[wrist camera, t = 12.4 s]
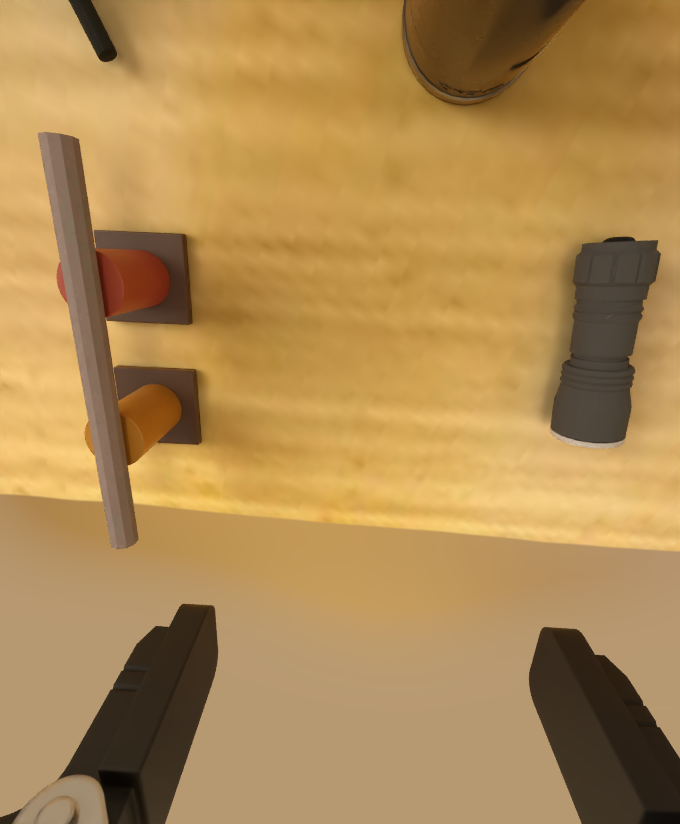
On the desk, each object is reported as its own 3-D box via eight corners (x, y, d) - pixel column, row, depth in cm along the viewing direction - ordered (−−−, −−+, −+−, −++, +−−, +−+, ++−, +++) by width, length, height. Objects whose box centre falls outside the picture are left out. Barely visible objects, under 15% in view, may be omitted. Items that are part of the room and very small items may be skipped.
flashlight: (563, 240, 33) (602, 236, 28) (635, 237, 33) (687, 233, 28) (539, 424, 38) (568, 449, 33) (601, 423, 38) (639, 448, 33)
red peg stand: (98, 230, 34) (25, 222, 26) (186, 234, 34) (137, 227, 26) (111, 319, 36) (47, 335, 29) (192, 323, 36) (149, 340, 29)
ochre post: (117, 365, 38) (58, 392, 30) (196, 369, 37) (156, 397, 30) (128, 437, 40) (75, 479, 32) (201, 441, 40) (166, 484, 32)
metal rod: (119, 532, 34) (105, 548, 32) (53, 141, 25) (29, 131, 23) (142, 533, 34) (130, 550, 32) (85, 142, 25) (63, 132, 23)
